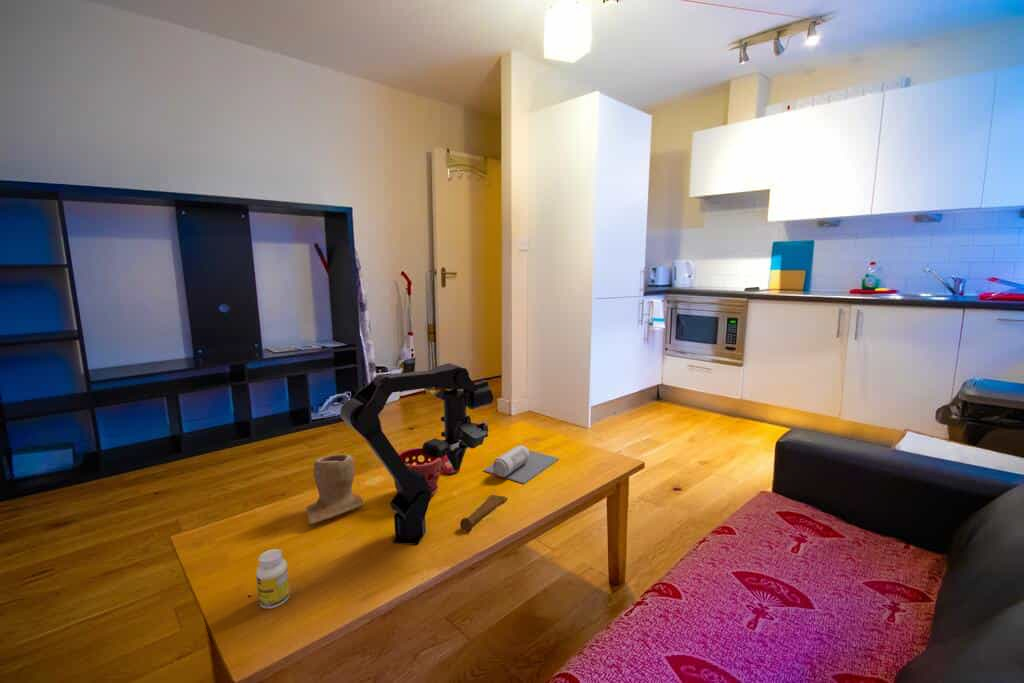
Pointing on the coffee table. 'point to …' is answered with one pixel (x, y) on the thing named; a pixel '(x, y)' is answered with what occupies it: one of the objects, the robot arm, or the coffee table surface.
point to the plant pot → (423, 466)
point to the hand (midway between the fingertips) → (456, 470)
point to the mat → (529, 467)
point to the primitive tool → (482, 511)
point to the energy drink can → (511, 461)
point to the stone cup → (333, 488)
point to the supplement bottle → (272, 579)
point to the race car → (447, 466)
